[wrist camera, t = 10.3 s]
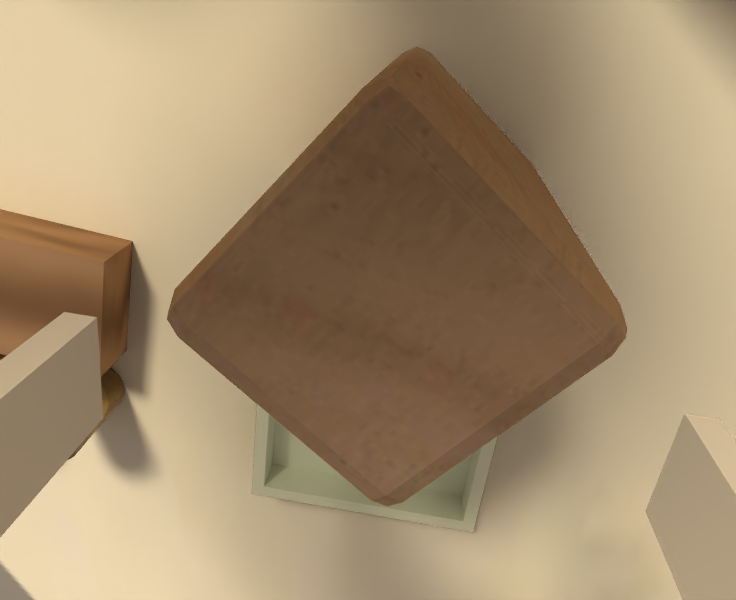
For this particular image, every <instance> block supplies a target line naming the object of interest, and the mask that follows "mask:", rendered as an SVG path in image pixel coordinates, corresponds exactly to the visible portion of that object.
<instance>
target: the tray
mask: <svg viewBox="0 0 736 600" xmlns="http://www.w3.org/2000/svg"><path fill="white" fill-rule="evenodd" d="M497 437H498V436H497ZM497 437H495V438H494V439H492V440H491V441H490V442H488V443H487V444H485V445H484V446H482V447H481V448H480V449H478V450H477V451H475V452H474V453H472V454H471V455H470V456H468V457H467V458H465V459H464V460H462V461H461V462H460V463H458V464H457V465H455V466H454V467H453V468H451V469H450V470H448V471H447V472H445V473H444V474H443V475H441V476H440V477H438V478H437V479H435V480H434V481H433V482H431V483H430V484H428V485H427V486H425V487H424V488H423V489H421V490H420V491H418V492H417V493H415V494H414V495H413V496H411V497H410V498H408V499H407V500H406V501H404V502H403V503H399V504H395V505H391V506H385V505H382V504H379V503H376V502H374V501H371V500H370V499H369V498H368V497H366V496H365V495H364V494H363V493H362V492H361V491H359V490H358V489H357V488H356V487H355V486H353V485H352V484H351V483H350V482H349V481H348V480H346V479H345V478H344V477H343V476H342V475H340V474H339V473H338V472H337V471H336V470H335V469H333V468H332V467H331V466H330V465H329V464H328V463H326V462H325V461H324V460H323V459H322V458H320V457H319V456H318V455H317V454H316V453H315V452H313V451H312V450H311V449H310V448H309V447H307V446H306V445H305V444H304V443H303V442H302V441H300V440H299V439H298V438H297V437H296V436H294V435H293V434H292V433H291V432H290V431H289V430H287V429H286V428H285V427H284V426H283V425H282V424H280V423H279V422H278V421H277V420H276V419H274V418H273V417H272V416H271V415H270V414H269V413H267V412H266V411H265V410H264V409H263V408H261V407H260V406H259V405H258V404H257V411H256V428H255V446H254V463H253V480H252V494H255V495H261V496H267V497H272V498H278V499H284V500H290V501H295V502H301V503H307V504H313V505H318V506H324V507H330V508H336V509H341V510H347V511H353V512H359V513H365V514H370V515H376V516H382V517H388V518H393V519H399V520H405V521H411V522H416V523H422V524H428V525H434V526H439V527H445V528H451V529H457V530H462V531H468V532H473V530H474V526H475V522H476V518H477V514H478V510H479V507H480V503H481V499H482V495H483V491H484V487H485V484H486V480H487V476H488V472H489V468H490V464H491V460H492V457H493V453H494V449H495V445H496V441H497Z"/></svg>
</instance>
